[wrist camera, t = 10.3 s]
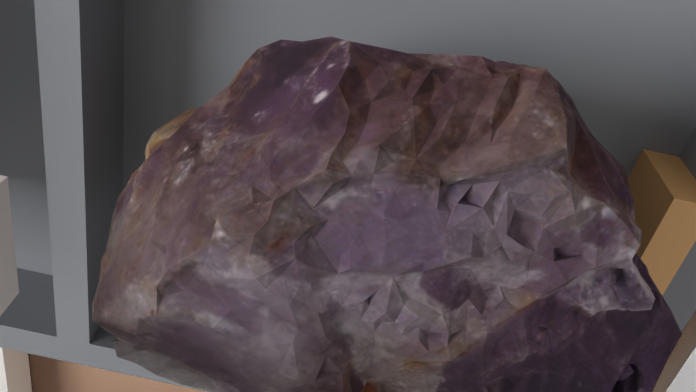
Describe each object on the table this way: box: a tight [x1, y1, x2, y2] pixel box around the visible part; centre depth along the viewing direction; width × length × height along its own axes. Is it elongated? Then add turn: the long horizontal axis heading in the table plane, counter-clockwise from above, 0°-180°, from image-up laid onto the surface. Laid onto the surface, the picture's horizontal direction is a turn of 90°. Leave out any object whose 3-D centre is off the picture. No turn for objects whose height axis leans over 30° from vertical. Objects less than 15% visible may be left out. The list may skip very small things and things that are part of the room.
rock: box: [92, 37, 682, 392], centre depth 14 cm, size 12×9×10 cm
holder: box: [0, 0, 696, 392], centre depth 15 cm, size 33×17×8 cm, turn 79°
